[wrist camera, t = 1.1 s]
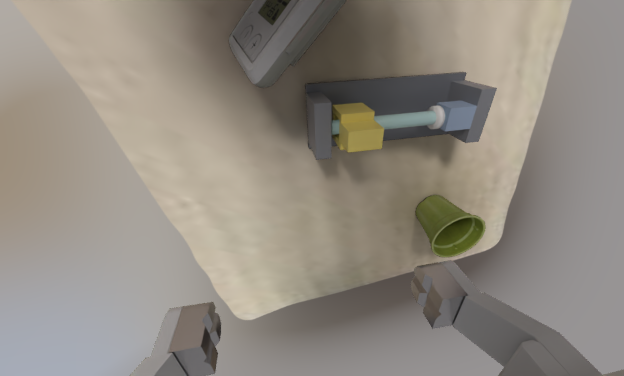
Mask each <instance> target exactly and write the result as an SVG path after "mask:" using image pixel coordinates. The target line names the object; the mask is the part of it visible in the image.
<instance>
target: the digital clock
mask: <svg viewBox="0 0 624 376" xmlns="http://www.w3.org/2000/svg"><path fill="white" fill-rule="evenodd" d="M345 2H346V0H254V1H253V2H252V4H251V5H250V6H249V8H248V9H247V11H246V12H245V14H244V15H243V17H242V18H241V20H240V21H239V23H238V24H237V26H236V27H235V29H234V30H233V32H232V33H231V35H230V37H229V43H230V47H231V50H232V52H233V54H234V56H235V57H236V59H237V60H238V62H239V64H240V65H241V67H242V69H243V70H244V72H245V73H246V75H247V77H248V78H249V80H250V81H251V82H252V83H253V84H254V85H256V86H258V87H261V88H264V87H270V86H271V85H273V84H274V83H275V82H276V81H277V79H278V78H279V77H280V76H281V74H282V73H283V72H284V71H285V69H286V68H287V67H288V66H289V65H290V64H291V65H292V66H294V65H295V64H296V63H297V62H298V60H299V59H300V58H301V57H302V55H303V54H304V53H305V52H306V50H307V49H308V48H309V47H310V45H311V44H312V43H313V42H314V40H315V39H316V38H317V37H318V35H319V34H320V33H321V32H322V30H323V29H324V28H325V27H326V25H327V24H328V23H329V22H330V20H331V19H332V18H333V17H334V15H335V14H336V13H337V12H338V10H339V9H340V8H341V7H342V5H343V4H344V3H345Z"/></svg>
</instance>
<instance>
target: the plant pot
mask: <svg viewBox="0 0 624 376" xmlns="http://www.w3.org/2000/svg"><path fill="white" fill-rule="evenodd" d="M416 216H417V218H418V219H419V221H420V223H421V225H422V227H423V228H424V230H425V232H426V234H427V236H428V238H429V240H430V243H431V249H432V251H433V253H434V254H435V255H437V256H439V257H452V256H457V255H459V254H461V253H464V252H466V251H467V250H469V249H471V248H472V247H473V246H474V245H476V244H477V243H478V241H479V240H480V239H481V238H482V236H483V235H484V232H485V222H484V221H483V220H482V219H481V218H480V217H478V216H475V215H471V214H469V213H466V212H464V211H463V210H461V209H460V208H458V207H457V206H455V205H454V204H452V203H451V202H449V201H448V200H447V199H445V198H444V197H442V196H439V195H433V196H429V197H427V198H426V199H425V200H424V201H423V202H421V203H419V205H418V206H417V208H416Z"/></svg>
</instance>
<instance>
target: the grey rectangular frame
mask: <svg viewBox="0 0 624 376" xmlns="http://www.w3.org/2000/svg"><path fill="white" fill-rule="evenodd" d="M465 76H466V72H458V73H444V74H431V75H418V76H404V77H391V78H378V79H365V80H351V81H338V82H325V83H311V84H305V89H306V109H307V128H308V147H309V149H312V151H313V154H314V156H315V158H316V160H318V159H327V158H331V146H338V145H337V144H336V142H335V141H334V139H333V138H332V135H335V134H339V120H332V105H339V104H350V103H363V104H365V105H366V106H368V107H369V108H370V109H372V110H373V111H375V113H374V121H376V122H377V123H378V124H379V125H381V126H382V127H383V128H384V135H383V141H386V140H395V139H404V138H414V137H423V136H432V135H442V134H450V135H452V136H454V137H456V138H458V139H459V140H461V141H463V142H465V143H469V142H478V141H479V139H480V136H481V133H482V130H483V127H484V124H485V121H486V118H487V115H488V112H489V110H490V107H491V104H492V101H493V98H494V95H495V92H496V89H497V88H494V87H490V86H486V85H482V84H478V83H474V82H470V81H466V80H465Z"/></svg>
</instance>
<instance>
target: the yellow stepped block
mask: <svg viewBox="0 0 624 376" xmlns="http://www.w3.org/2000/svg"><path fill="white" fill-rule="evenodd" d="M374 113H375V111H373V110H372V109H370V108H369V107H368V106H366V105H365V104H363V103H350V104H339V105H332V120H339V134H335V135H332V138H333V139H334V141H335V142H336V144H337V145H338V147H339V149H340V150H346V151H347V152H357V151H366V150H375V149H382V143H383V135H384V128H383V127H382V126H381V125H379V124H378V123H377V122H376V121H374Z"/></svg>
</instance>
